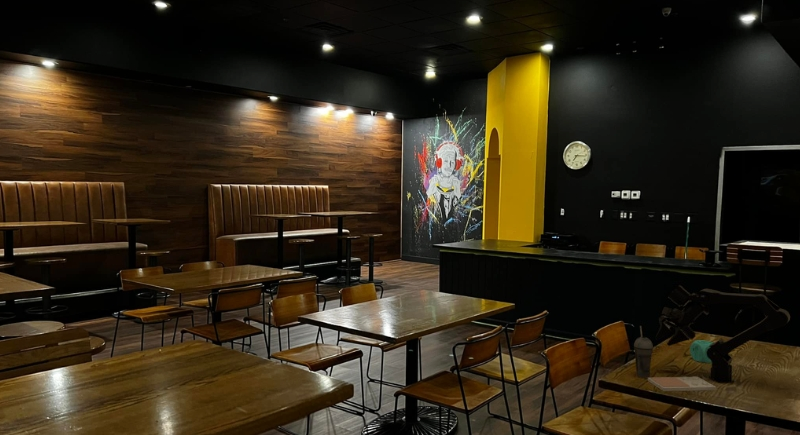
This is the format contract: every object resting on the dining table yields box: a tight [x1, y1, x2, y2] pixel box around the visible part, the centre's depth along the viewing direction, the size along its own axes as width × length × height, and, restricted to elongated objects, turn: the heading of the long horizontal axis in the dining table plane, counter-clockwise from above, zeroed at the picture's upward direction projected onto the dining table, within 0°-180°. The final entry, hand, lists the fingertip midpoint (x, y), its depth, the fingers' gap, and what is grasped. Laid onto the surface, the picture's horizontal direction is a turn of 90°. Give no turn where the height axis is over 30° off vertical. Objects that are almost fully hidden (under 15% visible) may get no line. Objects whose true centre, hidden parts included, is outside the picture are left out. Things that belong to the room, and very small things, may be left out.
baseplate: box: [647, 376, 717, 392], centre depth 220 cm, size 20×12×2 cm, turn 93°
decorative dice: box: [689, 339, 713, 364], centre depth 253 cm, size 8×8×8 cm
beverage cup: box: [633, 325, 654, 379], centre depth 231 cm, size 7×7×20 cm
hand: (661, 342), depth 231 cm, fingers open, 9 cm apart
